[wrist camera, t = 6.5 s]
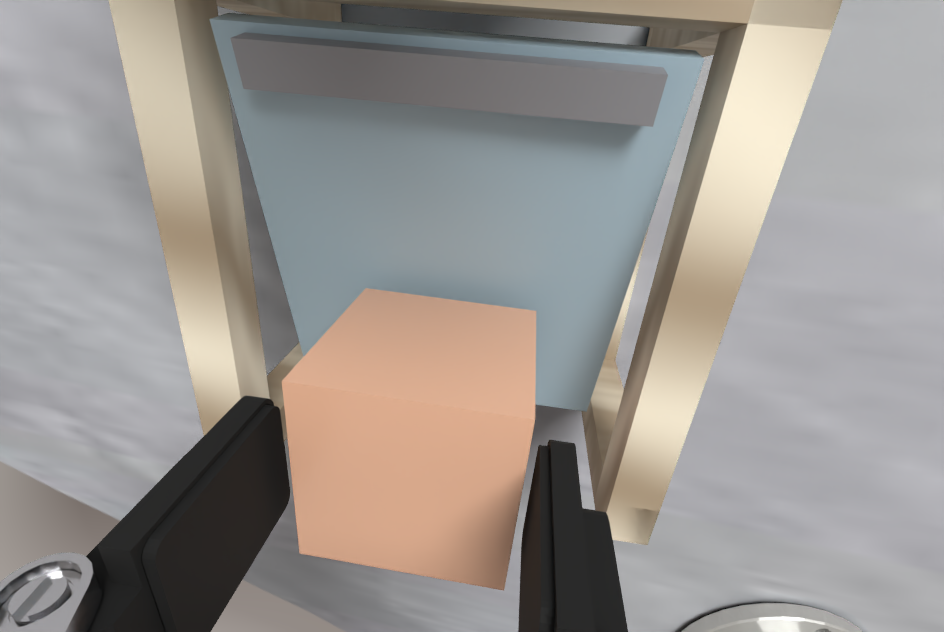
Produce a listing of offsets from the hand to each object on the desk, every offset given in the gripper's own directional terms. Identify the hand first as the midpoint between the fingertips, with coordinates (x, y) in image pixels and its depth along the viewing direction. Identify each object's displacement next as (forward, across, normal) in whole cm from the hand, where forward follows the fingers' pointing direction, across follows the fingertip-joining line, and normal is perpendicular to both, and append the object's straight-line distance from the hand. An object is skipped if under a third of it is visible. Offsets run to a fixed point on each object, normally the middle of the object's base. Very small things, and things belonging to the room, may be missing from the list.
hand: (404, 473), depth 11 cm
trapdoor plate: (+6, 0, -3) cm, 7 cm away
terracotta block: (+5, 0, 0) cm, 5 cm away
